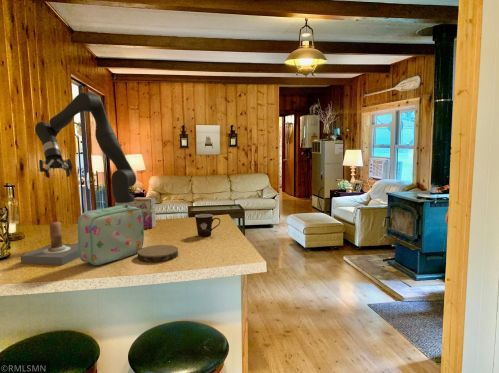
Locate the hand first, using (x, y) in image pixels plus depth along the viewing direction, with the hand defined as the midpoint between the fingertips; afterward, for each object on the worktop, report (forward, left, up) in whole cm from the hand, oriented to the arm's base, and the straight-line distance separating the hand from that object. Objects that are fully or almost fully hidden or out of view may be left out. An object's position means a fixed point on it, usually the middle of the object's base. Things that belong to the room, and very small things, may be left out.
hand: (58, 176), depth 179 cm
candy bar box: (-30, -28, -31) cm, 51 cm away
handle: (-19, +29, -27) cm, 44 cm away
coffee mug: (-70, -13, -31) cm, 78 cm away
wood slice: (-60, +23, -31) cm, 71 cm away
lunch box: (-43, +27, -31) cm, 59 cm away
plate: (-19, +29, -31) cm, 46 cm away
